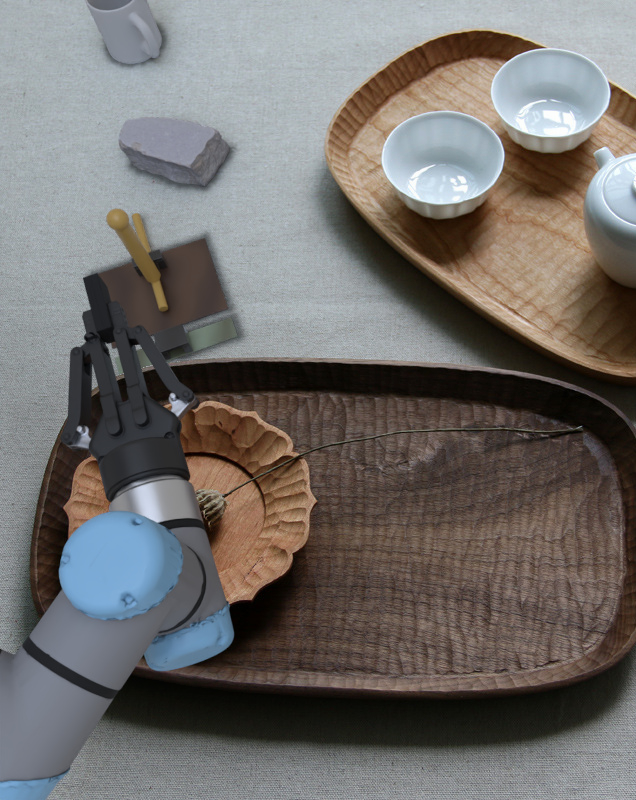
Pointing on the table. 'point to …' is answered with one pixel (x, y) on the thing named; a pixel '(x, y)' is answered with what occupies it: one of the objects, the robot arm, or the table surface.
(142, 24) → the mug
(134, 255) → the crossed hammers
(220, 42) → the table surface
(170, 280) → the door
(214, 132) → the decorative stone
